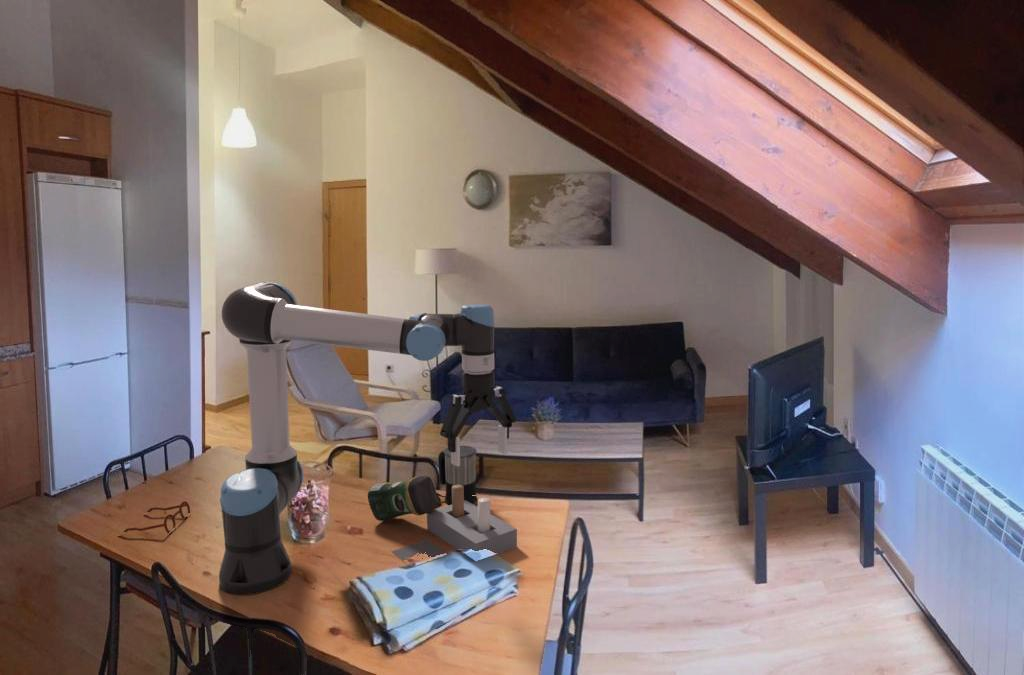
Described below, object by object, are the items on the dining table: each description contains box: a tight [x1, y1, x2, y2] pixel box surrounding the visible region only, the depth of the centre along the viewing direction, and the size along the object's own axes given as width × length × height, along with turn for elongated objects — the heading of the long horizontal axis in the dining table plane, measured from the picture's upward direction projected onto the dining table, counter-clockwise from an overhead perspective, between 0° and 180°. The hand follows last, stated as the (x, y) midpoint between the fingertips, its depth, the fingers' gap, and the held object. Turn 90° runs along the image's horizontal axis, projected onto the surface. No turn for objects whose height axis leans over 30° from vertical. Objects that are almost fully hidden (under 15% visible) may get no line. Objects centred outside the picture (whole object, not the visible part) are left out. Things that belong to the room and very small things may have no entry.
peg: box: [477, 497, 491, 534], centre depth 165 cm, size 3×3×12 cm
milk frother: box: [436, 445, 478, 508], centre depth 191 cm, size 14×16×15 cm
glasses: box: [122, 500, 191, 534], centre depth 179 cm, size 13×13×5 cm
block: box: [426, 485, 518, 555], centre depth 169 cm, size 12×22×12 cm, turn 38°
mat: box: [391, 539, 447, 562], centre depth 162 cm, size 10×10×1 cm
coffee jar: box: [367, 475, 439, 522], centre depth 177 cm, size 10×8×19 cm
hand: (479, 458), depth 162 cm, fingers open, 13 cm apart
